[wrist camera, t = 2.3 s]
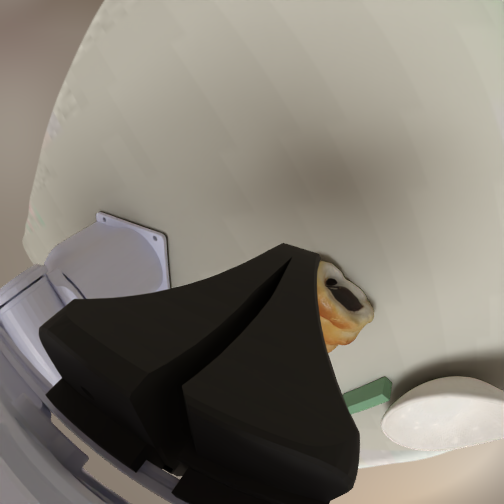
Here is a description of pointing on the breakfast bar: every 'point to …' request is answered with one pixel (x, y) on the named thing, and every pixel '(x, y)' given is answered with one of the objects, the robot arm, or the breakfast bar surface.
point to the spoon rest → (446, 415)
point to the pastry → (340, 307)
